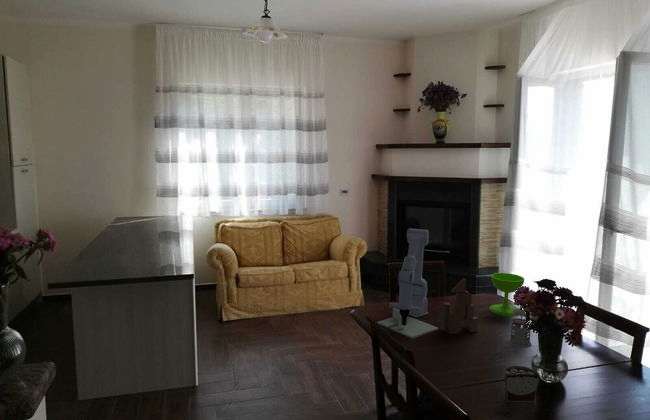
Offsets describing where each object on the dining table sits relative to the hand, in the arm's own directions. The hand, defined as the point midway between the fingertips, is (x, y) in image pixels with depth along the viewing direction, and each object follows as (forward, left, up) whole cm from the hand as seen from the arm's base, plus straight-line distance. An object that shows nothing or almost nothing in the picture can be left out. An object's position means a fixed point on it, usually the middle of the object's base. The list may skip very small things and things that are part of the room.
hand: (404, 324), depth 220 cm
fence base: (-5, -8, -2) cm, 10 cm away
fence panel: (-1, -2, -1) cm, 3 cm away
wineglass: (-62, +13, -3) cm, 64 cm away
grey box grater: (-31, +39, -3) cm, 50 cm away
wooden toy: (-20, +15, -3) cm, 25 cm away
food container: (+13, +63, -3) cm, 64 cm away
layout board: (-4, -2, -3) cm, 5 cm away
